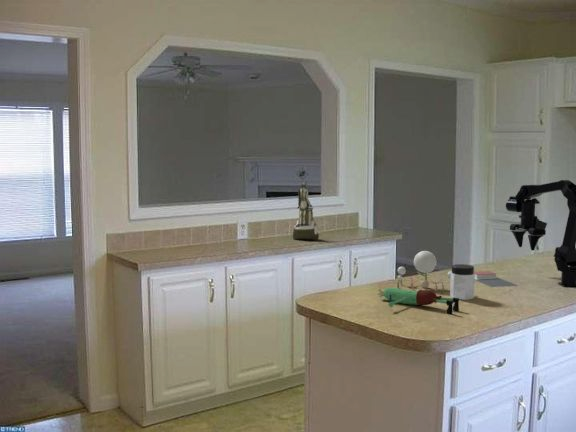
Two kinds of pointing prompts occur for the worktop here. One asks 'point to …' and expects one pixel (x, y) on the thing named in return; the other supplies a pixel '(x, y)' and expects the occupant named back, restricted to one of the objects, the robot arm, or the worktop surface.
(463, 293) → the jar
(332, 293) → the worktop surface
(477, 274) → the card deck
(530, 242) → the robot arm
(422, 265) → the figurines
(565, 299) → the worktop surface
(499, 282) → the mat
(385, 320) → the worktop surface
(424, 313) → the worktop surface
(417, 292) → the toy
